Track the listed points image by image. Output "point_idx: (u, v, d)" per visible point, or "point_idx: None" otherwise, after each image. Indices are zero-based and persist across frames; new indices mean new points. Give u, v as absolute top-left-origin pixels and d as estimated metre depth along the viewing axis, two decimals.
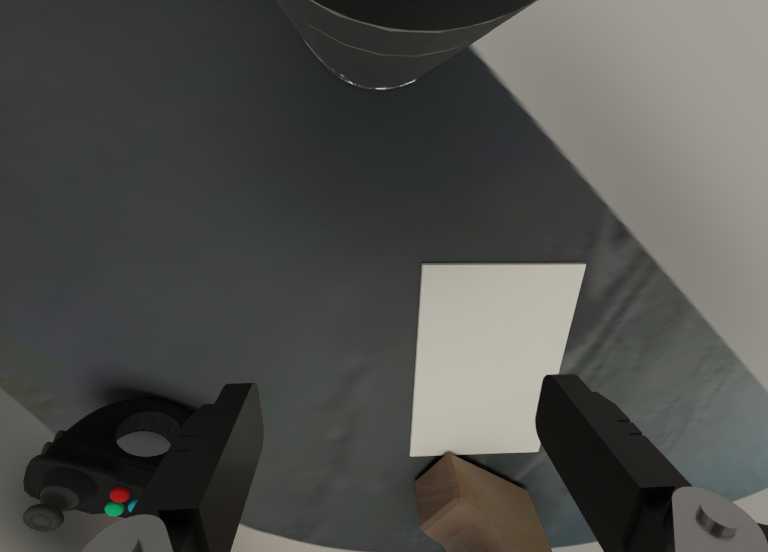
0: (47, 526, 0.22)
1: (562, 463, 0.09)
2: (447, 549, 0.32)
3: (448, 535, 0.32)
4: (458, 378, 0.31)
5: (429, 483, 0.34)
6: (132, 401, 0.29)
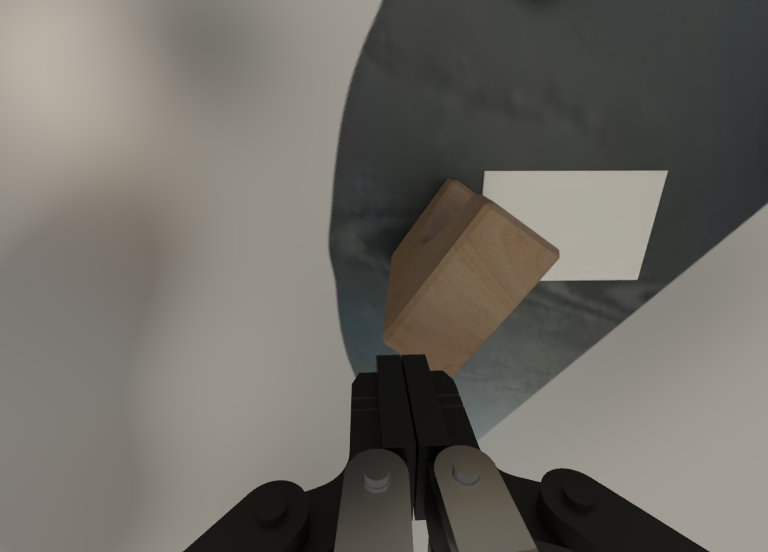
0: None
1: None
2: (441, 207, 0.35)
3: (456, 207, 0.35)
4: (563, 206, 0.40)
5: None
6: None
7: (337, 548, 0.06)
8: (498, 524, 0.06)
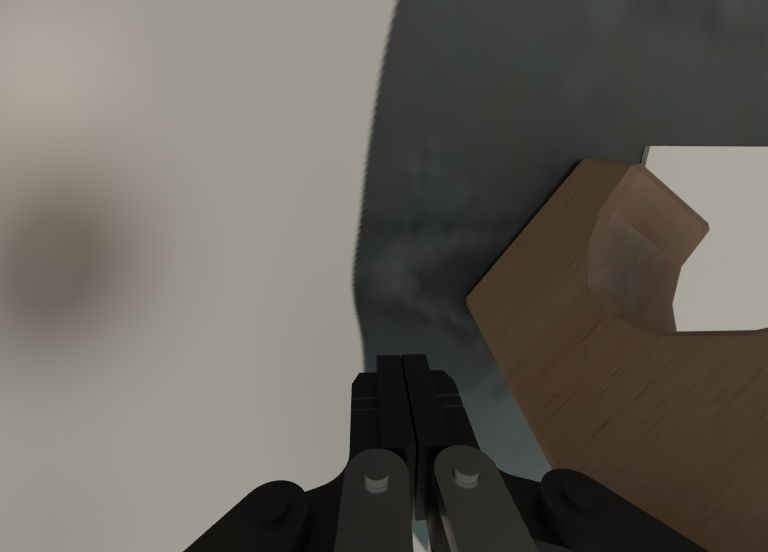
0: None
1: None
2: (612, 221, 0.16)
3: (638, 220, 0.17)
4: None
5: None
6: None
7: (337, 549, 0.06)
8: (497, 524, 0.06)
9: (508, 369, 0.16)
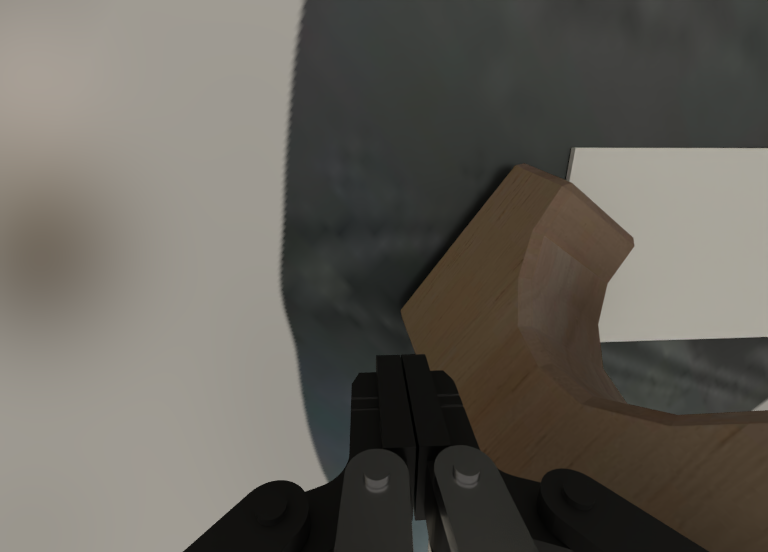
0: None
1: None
2: (542, 247, 0.16)
3: (568, 242, 0.16)
4: (708, 213, 0.22)
5: None
6: None
7: (337, 549, 0.06)
8: (498, 523, 0.06)
9: None
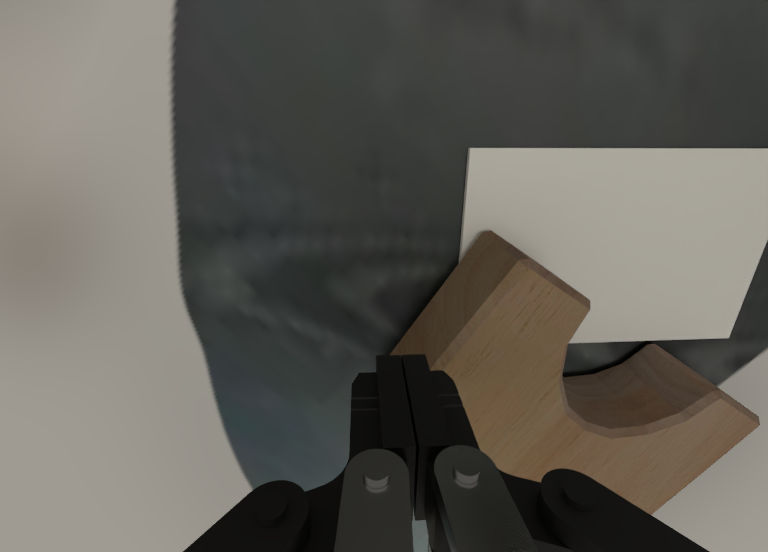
0: None
1: None
2: None
3: None
4: (614, 215, 0.22)
5: (528, 256, 0.19)
6: None
7: (336, 549, 0.06)
8: (497, 523, 0.06)
9: (508, 470, 0.21)
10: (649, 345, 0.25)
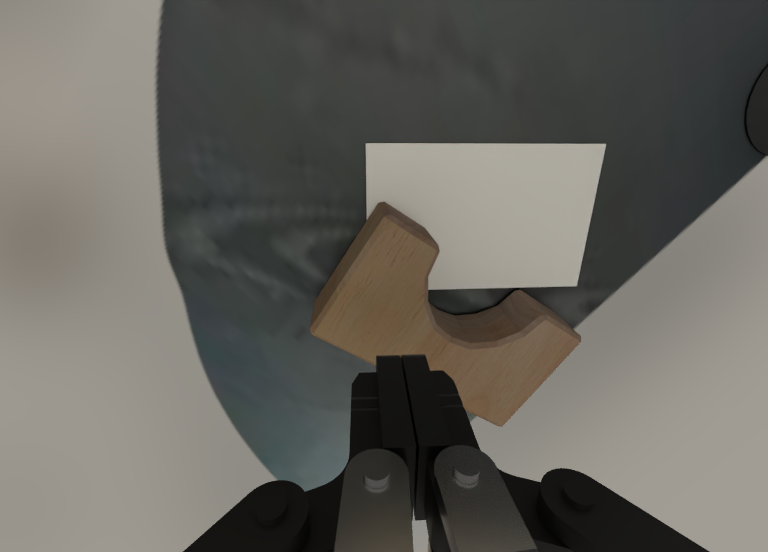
0: None
1: None
2: (427, 282, 0.28)
3: None
4: (475, 191, 0.30)
5: (402, 217, 0.28)
6: None
7: (337, 549, 0.06)
8: (498, 523, 0.06)
9: None
10: (515, 291, 0.34)
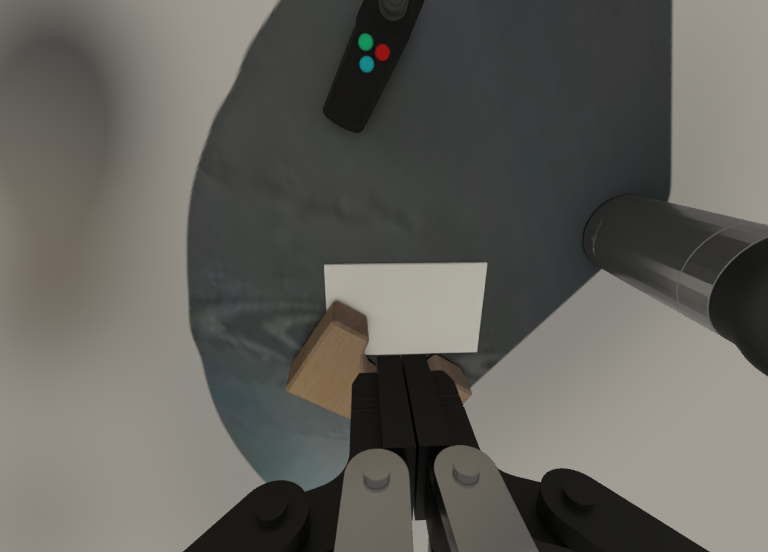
0: None
1: None
2: (362, 358, 0.42)
3: None
4: (400, 292, 0.45)
5: (346, 316, 0.42)
6: None
7: (336, 549, 0.06)
8: (498, 523, 0.06)
9: (346, 415, 0.45)
10: (433, 355, 0.48)
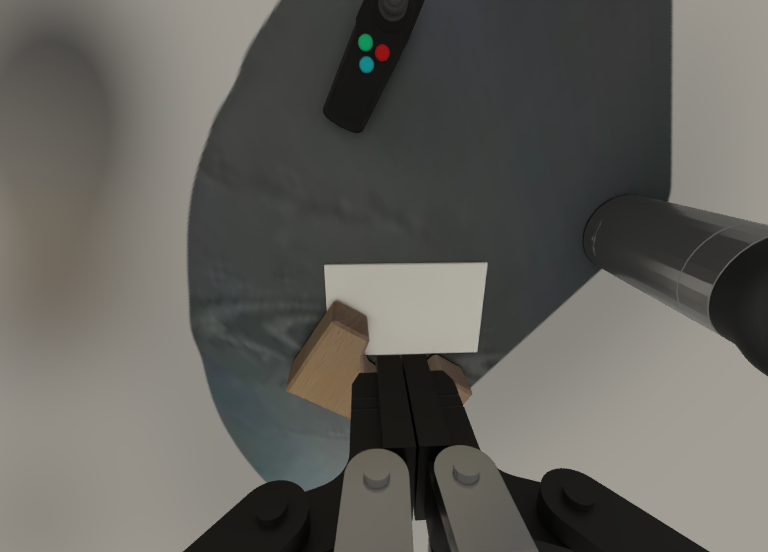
0: (388, 0, 0.26)
1: None
2: (362, 359, 0.42)
3: None
4: (400, 293, 0.45)
5: (346, 316, 0.42)
6: None
7: (336, 548, 0.06)
8: (497, 524, 0.06)
9: (346, 415, 0.45)
10: (433, 355, 0.48)
